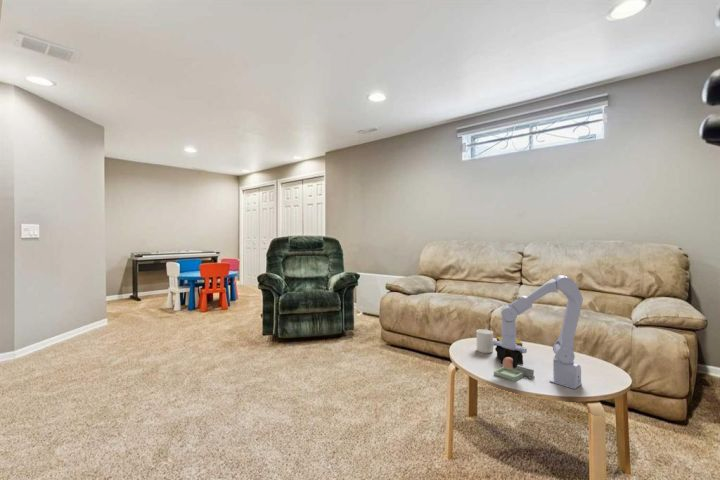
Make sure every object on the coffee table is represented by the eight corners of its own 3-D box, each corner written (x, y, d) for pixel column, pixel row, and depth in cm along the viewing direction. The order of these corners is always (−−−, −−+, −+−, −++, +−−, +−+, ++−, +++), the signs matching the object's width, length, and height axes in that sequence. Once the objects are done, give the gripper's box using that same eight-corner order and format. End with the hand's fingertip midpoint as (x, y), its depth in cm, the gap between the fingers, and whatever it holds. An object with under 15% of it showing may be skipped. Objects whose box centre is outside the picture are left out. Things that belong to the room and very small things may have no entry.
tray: (524, 375, 147) (524, 372, 147) (514, 381, 141) (514, 377, 141) (504, 369, 154) (504, 366, 154) (493, 374, 148) (493, 371, 148)
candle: (523, 364, 160) (523, 343, 160) (500, 363, 162) (500, 342, 162) (517, 357, 170) (517, 337, 170) (496, 355, 172) (496, 336, 172)
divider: (534, 377, 145) (534, 369, 145) (531, 378, 144) (531, 370, 144) (507, 368, 154) (507, 361, 154) (504, 370, 153) (504, 362, 153)
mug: (485, 345, 188) (485, 327, 188) (499, 349, 181) (499, 330, 181) (473, 350, 180) (473, 331, 180) (488, 354, 174) (488, 334, 173)
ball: (517, 369, 147) (517, 357, 147) (511, 372, 144) (511, 360, 144) (506, 365, 151) (506, 354, 151) (500, 368, 148) (500, 357, 148)
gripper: (529, 336, 144) (529, 368, 144) (497, 329, 155) (497, 358, 155) (522, 339, 140) (522, 372, 140) (489, 332, 151) (489, 362, 151)
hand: (508, 365), depth 147 cm, fingers closed on ball, 5 cm apart
